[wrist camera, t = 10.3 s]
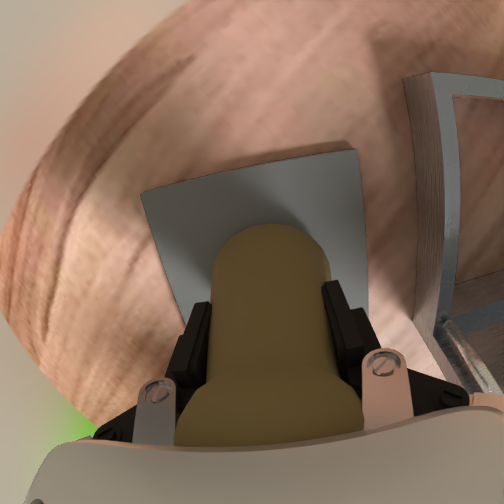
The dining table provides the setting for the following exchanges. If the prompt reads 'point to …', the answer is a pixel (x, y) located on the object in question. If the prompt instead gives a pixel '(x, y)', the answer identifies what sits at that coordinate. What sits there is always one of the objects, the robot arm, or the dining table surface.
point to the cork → (269, 348)
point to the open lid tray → (451, 240)
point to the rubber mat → (262, 219)
